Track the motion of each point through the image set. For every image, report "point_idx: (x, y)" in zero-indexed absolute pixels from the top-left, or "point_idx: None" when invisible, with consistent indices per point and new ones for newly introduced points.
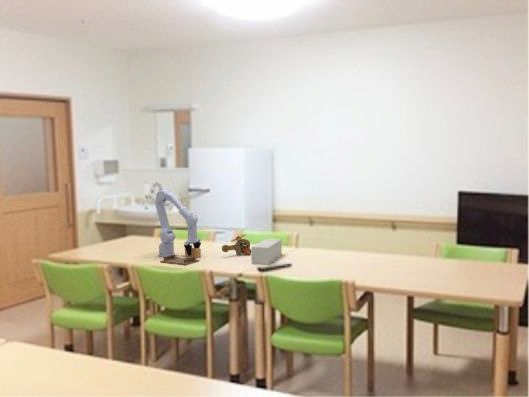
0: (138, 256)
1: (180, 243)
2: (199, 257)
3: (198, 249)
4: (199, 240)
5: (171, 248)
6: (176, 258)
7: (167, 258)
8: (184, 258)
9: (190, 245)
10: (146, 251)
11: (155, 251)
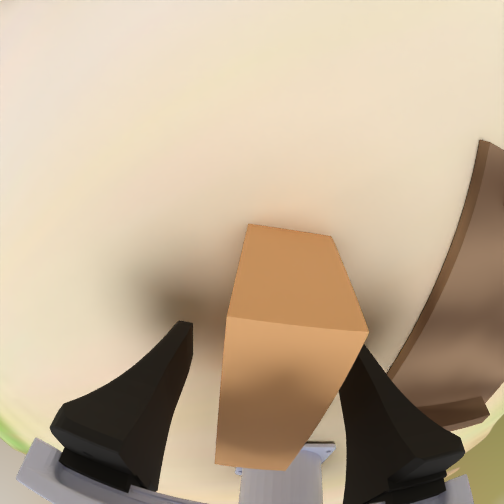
0: None
1: (30, 430)
2: (281, 232)
3: (321, 324)
4: (46, 473)
5: (301, 500)
6: (411, 396)
7: (470, 409)
8: (417, 349)
9: (428, 469)
10: (212, 498)
11: (193, 488)
